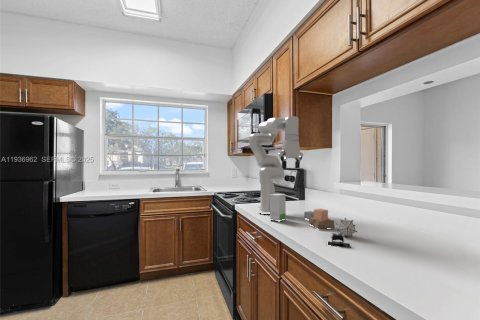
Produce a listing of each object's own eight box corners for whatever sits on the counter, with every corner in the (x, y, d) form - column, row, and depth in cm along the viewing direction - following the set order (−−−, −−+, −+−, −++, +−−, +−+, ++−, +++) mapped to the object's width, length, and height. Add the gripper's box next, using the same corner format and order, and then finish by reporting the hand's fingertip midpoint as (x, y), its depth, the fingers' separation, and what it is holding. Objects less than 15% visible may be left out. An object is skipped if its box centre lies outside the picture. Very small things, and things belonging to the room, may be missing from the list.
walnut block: (309, 226, 124) (309, 217, 124) (324, 225, 126) (324, 217, 126) (318, 230, 115) (318, 221, 115) (334, 229, 117) (334, 220, 117)
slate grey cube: (304, 220, 137) (304, 211, 137) (310, 219, 139) (310, 211, 139) (310, 221, 132) (310, 213, 133) (316, 221, 135) (316, 212, 135)
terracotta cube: (313, 218, 121) (313, 209, 121) (320, 217, 124) (320, 208, 124) (321, 220, 117) (321, 210, 117) (328, 219, 120) (327, 210, 120)
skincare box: (279, 222, 130) (279, 195, 130) (269, 220, 134) (269, 194, 134) (286, 220, 136) (286, 193, 137) (276, 218, 140) (276, 193, 141)
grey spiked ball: (344, 245, 103) (332, 228, 102) (341, 233, 111) (330, 217, 110) (363, 238, 99) (351, 220, 98) (359, 226, 107) (348, 210, 106)
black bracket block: (352, 244, 95) (352, 233, 95) (356, 250, 88) (356, 238, 88) (321, 241, 99) (321, 230, 99) (322, 247, 92) (321, 235, 92)
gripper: (298, 139, 138) (297, 168, 138) (275, 137, 130) (274, 167, 130) (307, 138, 131) (306, 168, 131) (283, 136, 123) (283, 168, 123)
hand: (290, 168), depth 130 cm, fingers open, 9 cm apart
